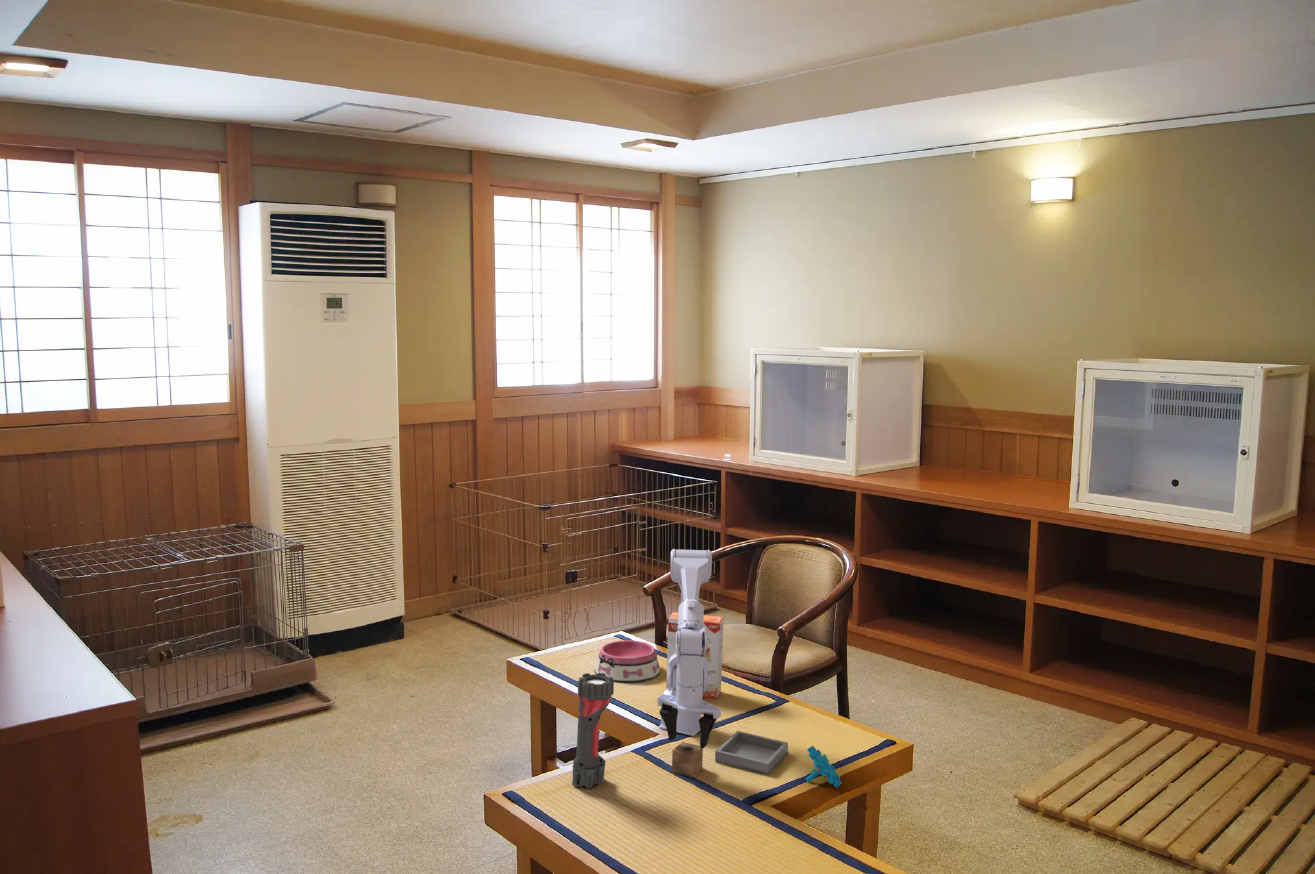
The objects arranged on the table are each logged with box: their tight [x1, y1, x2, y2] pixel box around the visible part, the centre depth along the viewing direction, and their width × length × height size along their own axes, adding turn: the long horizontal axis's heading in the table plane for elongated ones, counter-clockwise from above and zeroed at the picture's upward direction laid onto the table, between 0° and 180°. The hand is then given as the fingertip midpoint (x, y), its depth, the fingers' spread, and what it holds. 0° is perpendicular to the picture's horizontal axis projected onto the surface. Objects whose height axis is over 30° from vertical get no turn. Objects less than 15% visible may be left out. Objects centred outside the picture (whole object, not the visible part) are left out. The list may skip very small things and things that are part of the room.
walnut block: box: [671, 741, 704, 778], centre depth 212 cm, size 5×5×5 cm
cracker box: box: [665, 611, 725, 700], centre depth 255 cm, size 14×6×21 cm, turn 76°
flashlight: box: [571, 672, 615, 789], centre depth 204 cm, size 8×8×23 cm
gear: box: [805, 745, 842, 788], centre depth 208 cm, size 11×6×10 cm
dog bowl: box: [593, 639, 661, 684], centre depth 271 cm, size 18×19×7 cm
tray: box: [714, 730, 789, 776], centre depth 219 cm, size 13×13×2 cm
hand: (687, 742), depth 211 cm, fingers open, 7 cm apart
